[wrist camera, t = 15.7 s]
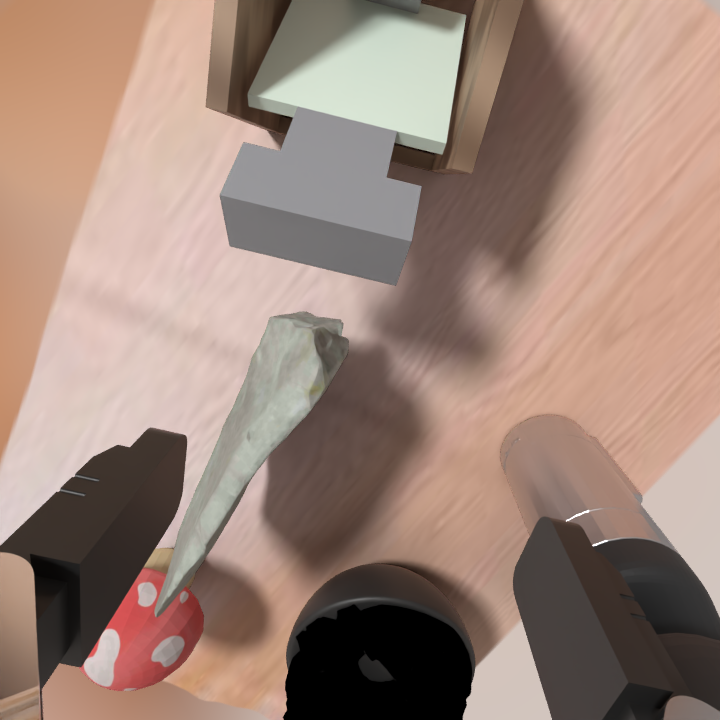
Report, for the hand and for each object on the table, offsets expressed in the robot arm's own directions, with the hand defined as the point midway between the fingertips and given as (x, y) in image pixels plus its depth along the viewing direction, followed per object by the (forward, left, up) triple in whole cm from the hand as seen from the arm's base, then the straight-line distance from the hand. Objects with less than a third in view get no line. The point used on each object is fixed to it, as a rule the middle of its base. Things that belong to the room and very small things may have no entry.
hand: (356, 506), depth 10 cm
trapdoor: (+4, -8, -27) cm, 28 cm away
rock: (+7, +16, -34) cm, 38 cm away
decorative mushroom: (+16, +42, -34) cm, 57 cm away
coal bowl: (-10, +40, -34) cm, 54 cm away
